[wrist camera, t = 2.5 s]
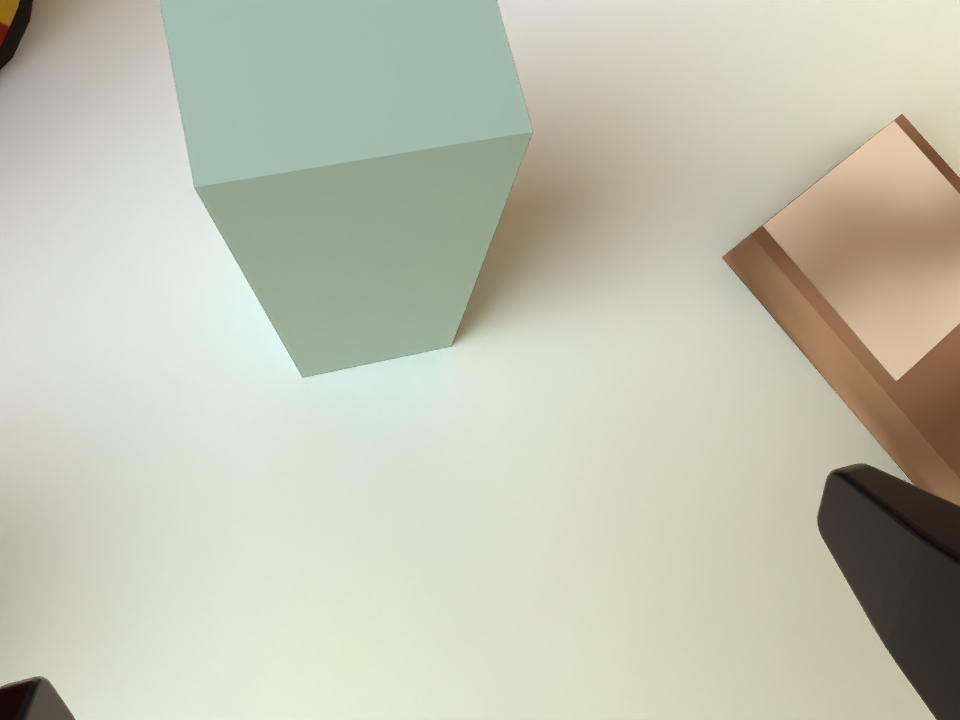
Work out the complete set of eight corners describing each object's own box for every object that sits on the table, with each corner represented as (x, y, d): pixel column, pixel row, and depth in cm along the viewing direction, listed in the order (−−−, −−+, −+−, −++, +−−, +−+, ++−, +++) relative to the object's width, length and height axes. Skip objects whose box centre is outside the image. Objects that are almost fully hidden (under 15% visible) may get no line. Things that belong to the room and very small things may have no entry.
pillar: (451, 346, 23) (532, 131, 10) (302, 377, 22) (193, 187, 10) (418, 209, 24) (457, -145, 11) (273, 235, 23) (139, -114, 10)
